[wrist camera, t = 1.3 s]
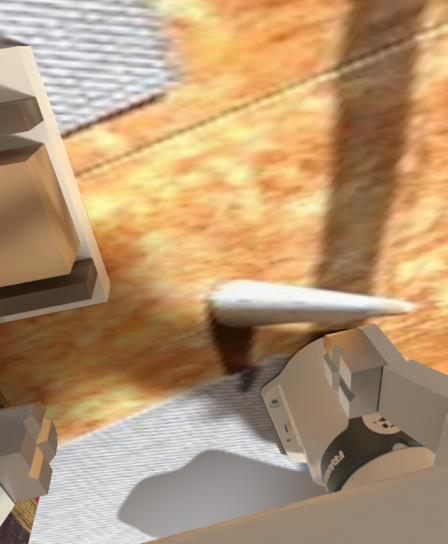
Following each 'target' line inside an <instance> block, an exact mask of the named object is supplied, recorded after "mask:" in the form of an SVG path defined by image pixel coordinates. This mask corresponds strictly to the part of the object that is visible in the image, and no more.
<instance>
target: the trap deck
mask: <svg viewBox="0 0 448 544" xmlns="http://www.w3.org/2000/svg"><path fill="white" fill-rule="evenodd" d="M33 97H36V99H37V102H38V105H39V107H40V110H41V113H42V116H43V119H44V121H42V122H41V123H40V124H38V125H37V126H35V127H34V128H33V129H31V130H30V131H27V132H21V133H15V134H10V135H4V136H0V151H4V150H10V149H16V148H22V147H27V146H33V145H39V144H45V146H46V149H47V151H48V154H49V157H50V160H51V162H52V165H53V168H54V171H55V174H56V176H57V179H58V182H59V185H60V187H61V190H62V193H63V196H64V198H65V201H66V204H67V207H68V210H69V212H70V215H71V218H72V221H73V223H74V226H75V229H76V232H77V234H78V237H79V240H80V243H81V244H80V246H79V249H78V252H77V255H76V258H75V260H74V261H79V260H84V259H89V258H93V261H94V264H95V267H96V270H97V273H98V274H97V278H96V283H95V287H94V291H93V296H92V299H89V300H84V301H79V302H74V303H69V304H64V305H59V306H54V307H49V308H44V309H39V310H34V311H29V312H24V313H19V314H14V315H9V316H4V317H0V323H4V322H9V321H14V320H19V319H24V318H29V317H34V316H39V315H43V314H48V313H53V312H58V311H63V310H68V309H73V308H78V307H83V306H88V305H93V304H98V303H103V302H108V297H109V291H110V285H111V284H110V281H109V278H108V275H107V272H106V269H105V266H104V263H103V260H102V257H101V254H100V251H99V248H98V245H97V242H96V239H95V236H94V233H93V230H92V227H91V224H90V221H89V218H88V215H87V213H86V210H85V207H84V204H83V201H82V198H81V195H80V192H79V189H78V186H77V183H76V180H75V177H74V174H73V171H72V168H71V165H70V162H69V159H68V156H67V153H66V150H65V147H64V144H63V141H62V138H61V135H60V132H59V129H58V126H57V124H56V121H55V118H54V115H53V112H52V109H51V106H50V103H49V100H48V97H47V94H46V91H45V88H44V85H43V82H42V79H41V76H40V73H39V70H38V67H37V64H36V61H35V58H34V55H33V52H32V49H31V46H16V47H10V48H3V49H0V103H3V102H9V101H15V100H21V99H27V98H33Z"/></svg>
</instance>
